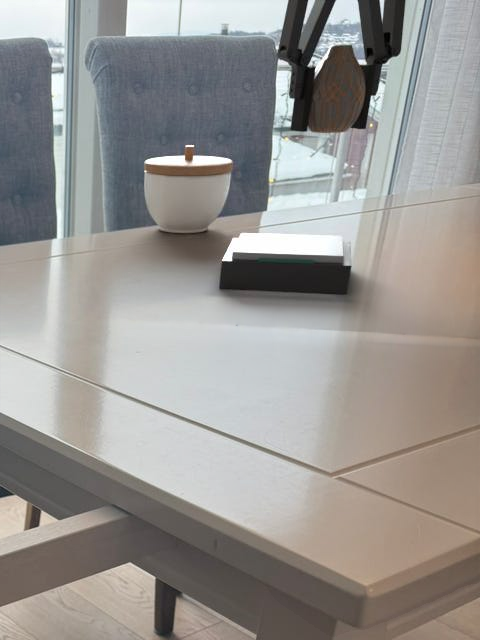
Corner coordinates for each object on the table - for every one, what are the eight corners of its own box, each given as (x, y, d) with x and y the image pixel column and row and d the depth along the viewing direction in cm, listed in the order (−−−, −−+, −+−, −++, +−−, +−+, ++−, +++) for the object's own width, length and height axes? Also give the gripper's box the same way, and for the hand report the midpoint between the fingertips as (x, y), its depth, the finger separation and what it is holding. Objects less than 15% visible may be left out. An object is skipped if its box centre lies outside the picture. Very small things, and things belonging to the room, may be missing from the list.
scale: (345, 267, 115) (351, 234, 113) (346, 294, 103) (353, 258, 101) (230, 263, 118) (233, 231, 116) (218, 288, 107) (222, 253, 105)
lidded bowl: (241, 227, 139) (251, 143, 133) (197, 240, 131) (205, 152, 125) (170, 218, 146) (176, 139, 140) (123, 230, 138) (128, 147, 132)
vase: (287, 132, 112) (298, 46, 107) (319, 129, 115) (330, 45, 111) (338, 135, 107) (352, 44, 102) (370, 131, 111) (384, 43, 106)
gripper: (427, -111, 104) (385, 124, 116) (261, -111, 100) (237, 130, 113) (469, -121, 97) (420, 128, 110) (294, -122, 94) (264, 135, 107)
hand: (327, 129), depth 111 cm, fingers closed on vase, 7 cm apart
